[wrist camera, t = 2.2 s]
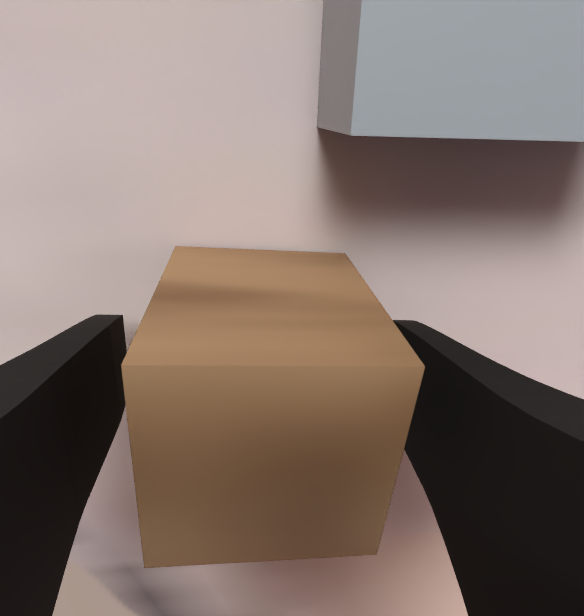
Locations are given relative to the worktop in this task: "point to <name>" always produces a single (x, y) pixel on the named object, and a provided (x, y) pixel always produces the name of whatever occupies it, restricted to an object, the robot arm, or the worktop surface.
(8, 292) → the worktop surface
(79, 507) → the robot arm
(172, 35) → the worktop surface
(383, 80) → the slate base block
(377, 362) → the walnut block
